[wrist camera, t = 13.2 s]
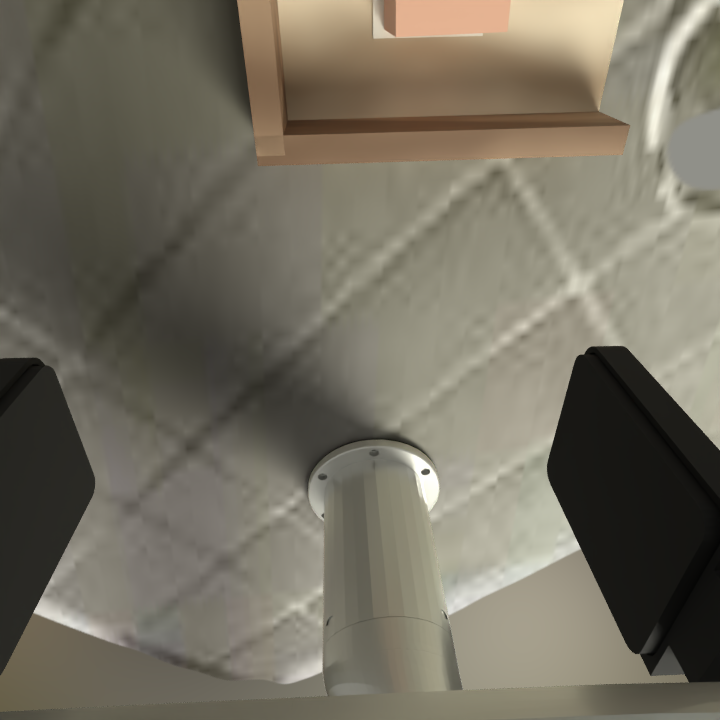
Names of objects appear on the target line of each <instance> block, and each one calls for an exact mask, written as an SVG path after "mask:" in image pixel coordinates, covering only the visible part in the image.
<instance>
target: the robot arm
mask: <svg viewBox="0 0 720 720" xmlns="http://www.w3.org/2000/svg"><path fill="white" fill-rule="evenodd" d="M547 474H548V479H549V482H550V484H551V486H552V488H553V490H554V493H555V495H556V497H557V499H558V501H559V503H560V505H561V507H562V509H563V512H564V514H565V516H566V518H567V520H568V522H569V524H570V526H571V528H572V531H573V533H574V535H575V537H576V539H577V541H578V543H579V545H580V547H581V550H582V552H583V554H584V556H585V558H586V560H587V562H588V564H589V566H590V569H591V571H592V573H593V575H594V577H595V579H596V581H597V583H598V585H599V587H600V589H601V592H602V594H603V596H604V598H605V600H606V602H607V604H608V607H609V609H610V611H611V613H612V615H613V617H614V619H615V621H616V623H617V626H618V628H619V630H620V632H621V634H622V636H623V638H624V640H625V642H626V644H627V646H628V648H629V649H630V650H631V651H632V652H634V653H635V654H640V655H641V657H642V659H643V661H644V663H645V665H646V667H647V669H648V671H649V673H650V675H651V676H656V675H677V674H685V676H686V677H687V679H688V681H689V683H649V684H606V685H605V684H604V685H580V686H557V687H555V686H554V687H530V688H507V689H480V690H463V688H462V683H461V678H460V674H459V669H458V663H457V658H456V654H455V648H454V643H453V638H452V633H451V627H450V622H449V617H448V611H447V606H446V601H445V596H444V591H443V585H442V580H441V575H440V570H439V564H438V559H437V554H436V549H435V543H434V538H433V533H432V528H431V522H430V517H429V511H430V510H431V509H432V508H433V507H434V505H435V503H436V501H437V499H438V496H439V492H440V482H439V477H438V473H437V470H436V468H435V466H434V464H433V463H432V461H431V460H430V459H429V458H428V457H427V456H426V455H425V454H424V453H422V452H421V451H420V450H418V449H416V448H414V447H412V446H410V445H407V444H404V443H401V442H397V441H390V440H365V441H358V442H354V443H351V444H348V445H344V446H342V447H340V448H338V449H336V450H334V451H332V452H331V453H329V454H328V455H326V456H325V457H324V458H323V459H322V460H321V461H320V462H319V463H318V464H317V465H316V466H315V468H314V470H313V471H312V473H311V476H310V479H309V483H308V499H309V503H310V505H311V508H312V510H313V511H314V512H315V514H316V515H317V516H318V517H319V518H320V519H321V520H323V521H324V580H323V679H324V685H325V690H326V693H327V696H317V697H295V698H275V699H253V700H230V701H209V702H189V703H188V702H187V703H167V704H148V705H127V706H107V707H90V708H89V707H88V708H68V709H50V710H30V711H10V712H0V720H720V450H719V449H718V448H717V447H716V446H715V445H714V444H713V442H712V441H711V440H710V439H709V438H708V437H707V436H706V435H705V434H704V433H703V431H702V430H701V429H700V428H699V427H698V426H697V425H696V424H695V423H694V422H693V420H692V419H691V418H690V417H689V416H688V415H687V414H686V413H685V412H684V411H683V409H682V408H681V407H680V406H679V405H678V404H677V403H676V402H675V401H674V400H673V398H672V397H671V396H670V395H669V394H668V393H667V392H666V391H665V390H664V389H663V387H662V386H661V385H660V384H659V383H658V382H657V381H656V380H655V379H654V377H653V376H652V375H651V374H650V373H649V372H648V371H647V370H646V369H645V368H644V366H643V365H642V364H641V363H640V362H639V361H638V360H637V359H636V358H635V357H634V355H633V354H632V353H631V352H630V351H629V350H628V349H627V348H625V347H624V346H597V347H590V348H588V349H587V351H586V352H585V354H584V355H579V356H578V357H577V358H576V360H575V363H574V367H573V370H572V374H571V378H570V381H569V385H568V389H567V392H566V396H565V400H564V404H563V407H562V411H561V415H560V418H559V422H558V426H557V429H556V433H555V437H554V440H553V444H552V448H551V452H550V455H549V459H548V463H547ZM94 489H95V477H94V474H93V471H92V468H91V466H90V463H89V460H88V458H87V455H86V452H85V450H84V447H83V445H82V442H81V439H80V437H79V434H78V431H77V429H76V426H75V423H74V421H73V418H72V415H71V413H70V410H69V408H68V405H67V402H66V400H65V397H64V394H63V392H62V389H61V386H60V384H59V381H58V378H57V376H56V373H55V371H54V370H53V369H52V368H51V367H50V366H45V365H44V363H43V362H42V361H41V360H40V359H38V358H3V359H0V675H1V673H2V672H3V670H4V669H5V667H6V665H7V663H8V661H9V659H10V657H11V655H12V653H13V651H14V649H15V647H16V645H17V643H18V641H19V639H20V637H21V635H22V634H23V631H24V629H25V627H26V626H27V624H28V622H29V620H30V618H31V616H32V614H33V612H34V610H35V608H36V606H37V604H38V602H39V600H40V598H41V596H42V594H43V592H44V590H45V588H46V586H47V584H48V582H49V581H50V579H51V577H52V575H53V573H54V571H55V569H56V567H57V565H58V563H59V561H60V559H61V557H62V555H63V553H64V551H65V549H66V547H67V545H68V543H69V541H70V539H71V537H72V535H73V533H74V531H75V529H76V528H77V526H78V524H79V522H80V520H81V518H82V516H83V514H84V512H85V510H86V508H87V506H88V504H89V502H90V500H91V498H92V496H93V493H94Z"/></svg>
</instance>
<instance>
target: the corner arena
mask: <svg viewBox="0 0 720 720" xmlns="http://www.w3.org/2000/svg"><path fill="white" fill-rule="evenodd" d="M623 1H624V0H511V3H510V13H509V22H508V31H507V32H495V33H474V34H453V35H432V36H411V37H395V36H393V35H392V34H390V33H389V32H387V31H386V30H384V0H237V3H238V11H239V19H240V27H241V35H242V42H243V50H244V58H245V66H246V74H247V82H248V90H249V98H250V106H251V114H252V122H253V130H254V137H255V145H256V153H257V161H258V166H274V165H306V164H339V163H371V162H403V161H436V160H468V159H500V158H532V157H565V156H597V155H623V151H624V147H625V143H626V140H627V136H628V132H629V128H630V125H628V124H626V123H624V122H621V121H619V120H617V119H614V118H612V117H610V116H608V115H605V114H603V113H601V112H599V108H600V103H601V99H602V94H603V90H604V85H605V81H606V77H607V72H608V68H609V63H610V59H611V54H612V50H613V46H614V41H615V37H616V32H617V28H618V23H619V19H620V15H621V10H622V6H623Z"/></svg>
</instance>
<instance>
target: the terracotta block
mask: <svg viewBox="0 0 720 720" xmlns="http://www.w3.org/2000/svg"><path fill="white" fill-rule="evenodd" d="M510 3H511V0H384V30H386V31H387V32H389V33H390V34H392V35H393V36H395V37H411V36H432V35H453V34H474V33H495V32H507V31H508V22H509V13H510Z"/></svg>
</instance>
